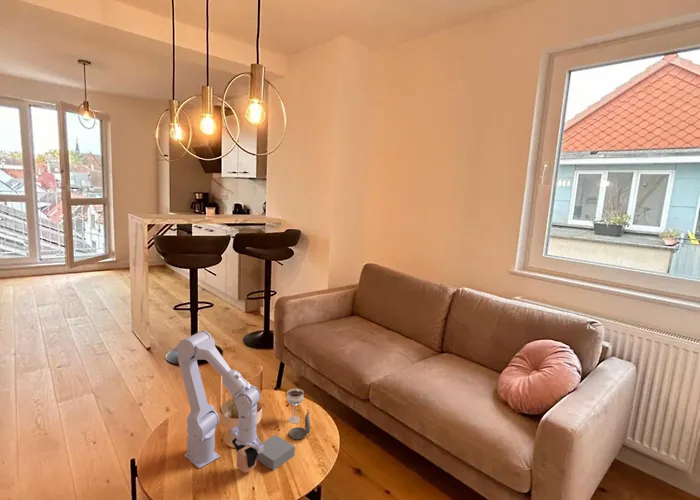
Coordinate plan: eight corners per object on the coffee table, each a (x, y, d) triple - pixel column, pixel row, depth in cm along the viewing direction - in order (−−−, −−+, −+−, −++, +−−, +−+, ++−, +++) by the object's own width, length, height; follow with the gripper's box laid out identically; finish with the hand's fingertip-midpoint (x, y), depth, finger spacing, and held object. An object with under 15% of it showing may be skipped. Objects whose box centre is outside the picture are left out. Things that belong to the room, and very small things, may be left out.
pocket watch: (285, 434, 151) (286, 410, 149) (302, 425, 157) (303, 402, 156) (299, 444, 146) (300, 419, 144) (316, 435, 152) (317, 411, 150)
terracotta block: (236, 466, 130) (236, 451, 129) (247, 459, 133) (248, 444, 133) (244, 473, 127) (245, 457, 126) (256, 466, 131) (256, 451, 130)
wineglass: (283, 422, 158) (284, 395, 156) (289, 413, 165) (290, 387, 163) (299, 426, 157) (300, 398, 155) (304, 416, 163) (306, 389, 161)
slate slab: (253, 458, 137) (253, 447, 137) (274, 444, 145) (275, 434, 145) (273, 471, 132) (273, 460, 131) (294, 456, 140) (294, 446, 139)
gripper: (223, 420, 129) (223, 457, 131) (251, 440, 120) (250, 479, 123) (241, 411, 135) (240, 447, 137) (269, 430, 126) (268, 468, 128)
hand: (246, 462), depth 130 cm, fingers closed on terracotta block, 4 cm apart
